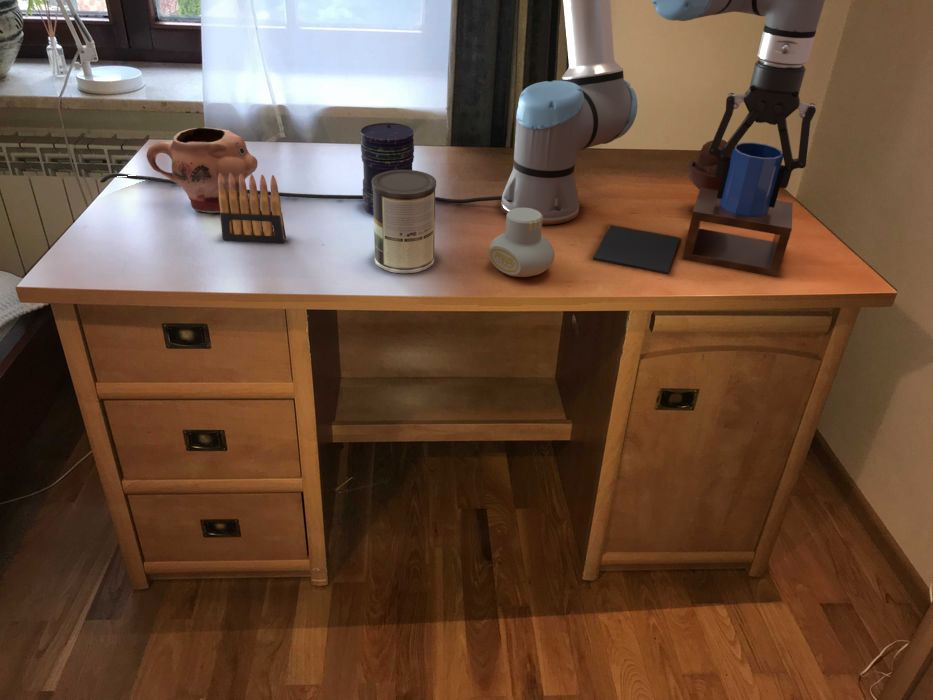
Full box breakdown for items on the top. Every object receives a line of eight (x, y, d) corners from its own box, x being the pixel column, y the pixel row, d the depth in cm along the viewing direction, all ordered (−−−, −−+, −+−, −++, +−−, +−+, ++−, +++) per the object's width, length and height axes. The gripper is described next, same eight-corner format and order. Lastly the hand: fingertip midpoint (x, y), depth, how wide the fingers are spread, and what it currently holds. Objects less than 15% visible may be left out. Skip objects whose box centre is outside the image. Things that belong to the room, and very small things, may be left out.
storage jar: (412, 218, 143) (412, 140, 135) (360, 216, 143) (357, 138, 134) (415, 198, 151) (415, 123, 143) (366, 196, 151) (363, 121, 143)
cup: (717, 211, 129) (731, 153, 123) (721, 194, 135) (735, 139, 130) (766, 219, 127) (783, 161, 121) (768, 202, 133) (784, 146, 128)
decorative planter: (146, 218, 138) (131, 143, 131) (162, 192, 148) (149, 122, 141) (258, 218, 140) (249, 144, 133) (266, 193, 150) (259, 123, 143)
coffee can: (361, 260, 128) (358, 180, 120) (403, 241, 135) (402, 164, 127) (405, 280, 123) (405, 198, 115) (447, 259, 130) (449, 180, 122)
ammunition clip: (222, 240, 132) (212, 174, 126) (225, 235, 134) (216, 170, 127) (283, 243, 132) (277, 177, 126) (286, 238, 134) (279, 173, 127)
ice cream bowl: (738, 227, 146) (757, 151, 138) (679, 220, 147) (695, 144, 139) (733, 206, 155) (751, 133, 146) (677, 200, 156) (692, 127, 148)
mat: (592, 259, 132) (593, 257, 132) (610, 226, 144) (610, 224, 143) (668, 274, 128) (668, 272, 128) (679, 239, 140) (679, 237, 140)
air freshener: (560, 273, 127) (567, 218, 121) (527, 289, 122) (533, 232, 116) (512, 251, 133) (517, 197, 128) (479, 265, 128) (482, 209, 123)
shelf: (682, 258, 133) (692, 211, 128) (690, 232, 143) (700, 187, 138) (777, 277, 129) (792, 228, 124) (779, 248, 139) (792, 202, 134)
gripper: (710, 59, 118) (681, 197, 130) (854, 76, 112) (809, 219, 125) (714, 49, 124) (686, 182, 136) (852, 65, 118) (809, 202, 130)
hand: (745, 200), depth 130 cm, fingers closed on cup, 8 cm apart
